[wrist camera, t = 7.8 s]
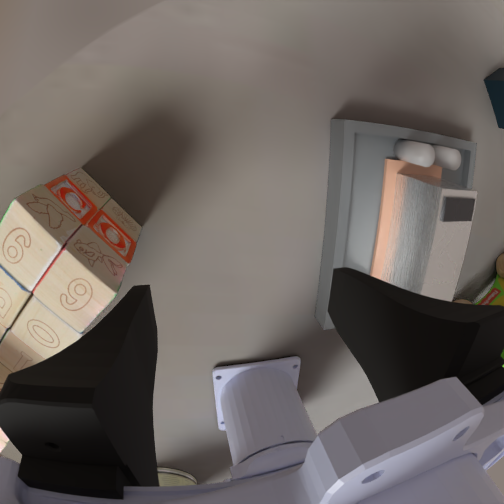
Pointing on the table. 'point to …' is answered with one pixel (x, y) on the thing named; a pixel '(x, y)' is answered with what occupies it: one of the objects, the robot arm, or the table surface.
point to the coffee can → (174, 477)
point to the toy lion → (493, 290)
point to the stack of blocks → (58, 267)
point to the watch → (497, 94)
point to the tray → (376, 191)
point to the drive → (428, 235)
